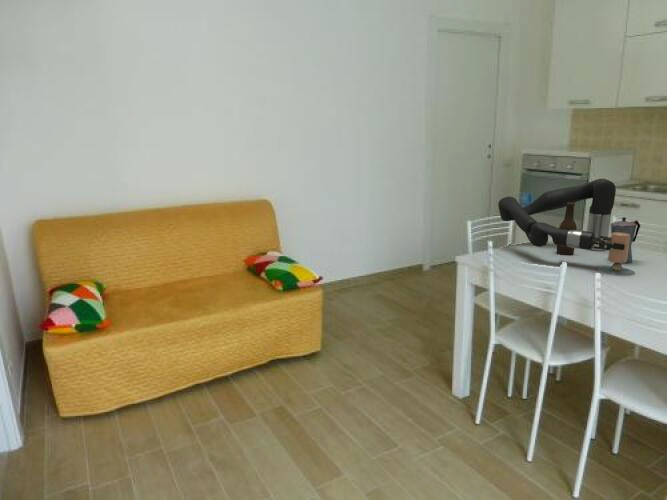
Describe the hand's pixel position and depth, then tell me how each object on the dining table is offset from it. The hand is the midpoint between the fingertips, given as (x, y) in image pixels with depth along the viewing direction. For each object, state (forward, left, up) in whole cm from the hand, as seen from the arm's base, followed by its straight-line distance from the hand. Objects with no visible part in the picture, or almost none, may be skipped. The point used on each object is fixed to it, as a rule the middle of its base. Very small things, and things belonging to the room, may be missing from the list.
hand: (625, 245), depth 195 cm
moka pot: (-18, +3, -12) cm, 22 cm away
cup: (-1, -2, -7) cm, 7 cm away
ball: (-1, -2, -11) cm, 11 cm away
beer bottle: (-27, -18, -12) cm, 35 cm away
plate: (-1, -2, -12) cm, 12 cm away
